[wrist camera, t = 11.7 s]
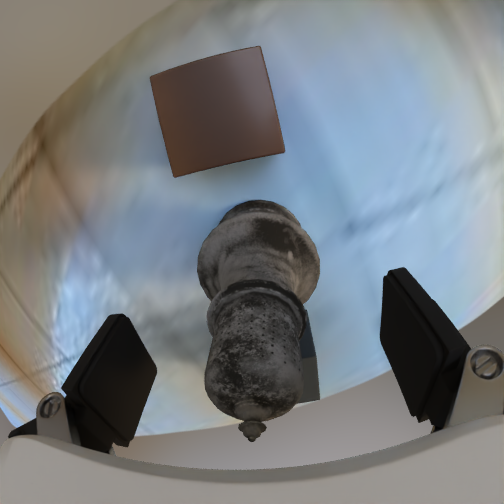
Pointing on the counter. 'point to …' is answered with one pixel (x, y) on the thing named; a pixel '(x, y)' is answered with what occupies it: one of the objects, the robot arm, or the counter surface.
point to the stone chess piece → (256, 311)
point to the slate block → (309, 366)
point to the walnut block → (217, 111)
